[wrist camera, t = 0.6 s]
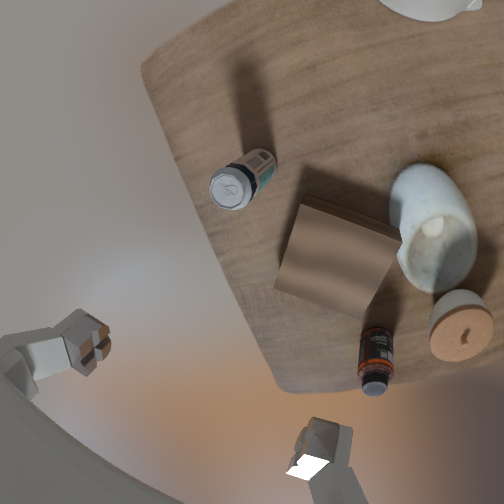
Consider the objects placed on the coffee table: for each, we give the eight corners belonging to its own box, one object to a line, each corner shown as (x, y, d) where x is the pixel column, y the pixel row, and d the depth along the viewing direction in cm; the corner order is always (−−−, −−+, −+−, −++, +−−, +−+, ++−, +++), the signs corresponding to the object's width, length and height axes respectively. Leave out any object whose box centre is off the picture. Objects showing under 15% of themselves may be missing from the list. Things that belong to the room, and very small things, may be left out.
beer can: (240, 151, 41) (200, 173, 31) (273, 145, 39) (241, 165, 29) (249, 183, 43) (212, 215, 33) (281, 178, 41) (253, 210, 31)
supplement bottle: (362, 351, 51) (356, 401, 42) (358, 327, 49) (352, 379, 40) (393, 348, 49) (393, 398, 39) (392, 324, 46) (392, 376, 37)
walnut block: (305, 193, 41) (300, 203, 38) (399, 229, 39) (402, 242, 35) (280, 273, 49) (273, 287, 45) (361, 303, 46) (359, 319, 43)
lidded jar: (490, 306, 38) (505, 345, 30) (441, 338, 44) (448, 379, 37) (466, 264, 37) (483, 303, 29) (412, 301, 43) (417, 344, 35)
